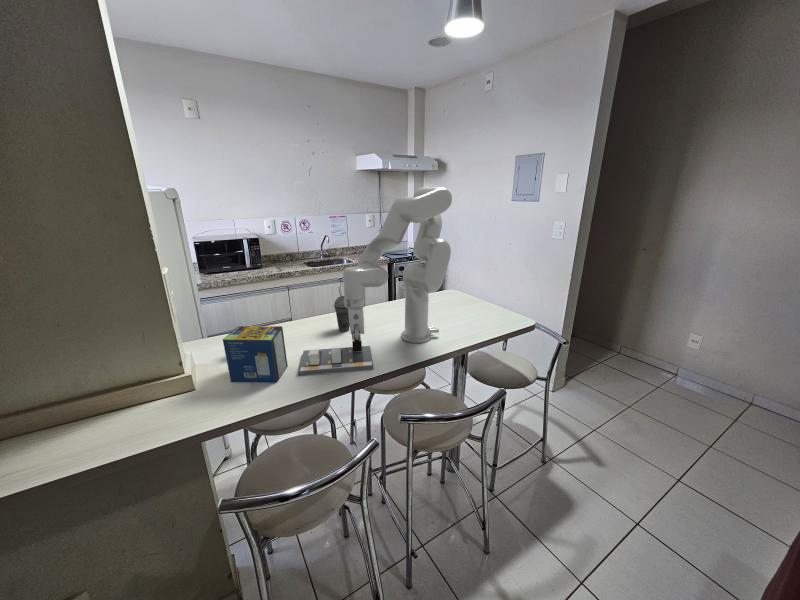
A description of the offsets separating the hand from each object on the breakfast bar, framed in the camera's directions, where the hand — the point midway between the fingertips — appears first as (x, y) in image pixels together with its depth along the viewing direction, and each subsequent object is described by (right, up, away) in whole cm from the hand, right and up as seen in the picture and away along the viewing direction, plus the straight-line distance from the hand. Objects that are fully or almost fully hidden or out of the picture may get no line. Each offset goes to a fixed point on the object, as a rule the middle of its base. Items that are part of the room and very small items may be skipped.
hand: (356, 345), depth 121 cm
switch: (-13, -5, -8) cm, 16 cm away
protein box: (-31, -8, -12) cm, 34 cm away
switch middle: (-6, -5, -7) cm, 10 cm away
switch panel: (-7, -5, -3) cm, 9 cm away
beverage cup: (-9, +3, +23) cm, 24 cm away
